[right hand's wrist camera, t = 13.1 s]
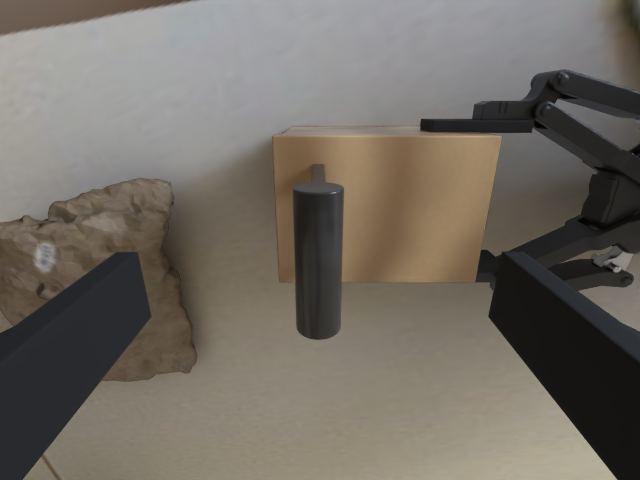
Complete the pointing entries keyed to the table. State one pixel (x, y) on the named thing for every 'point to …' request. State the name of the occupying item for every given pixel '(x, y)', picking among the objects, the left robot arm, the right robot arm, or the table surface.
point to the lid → (377, 213)
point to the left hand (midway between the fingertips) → (418, 198)
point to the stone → (92, 249)
